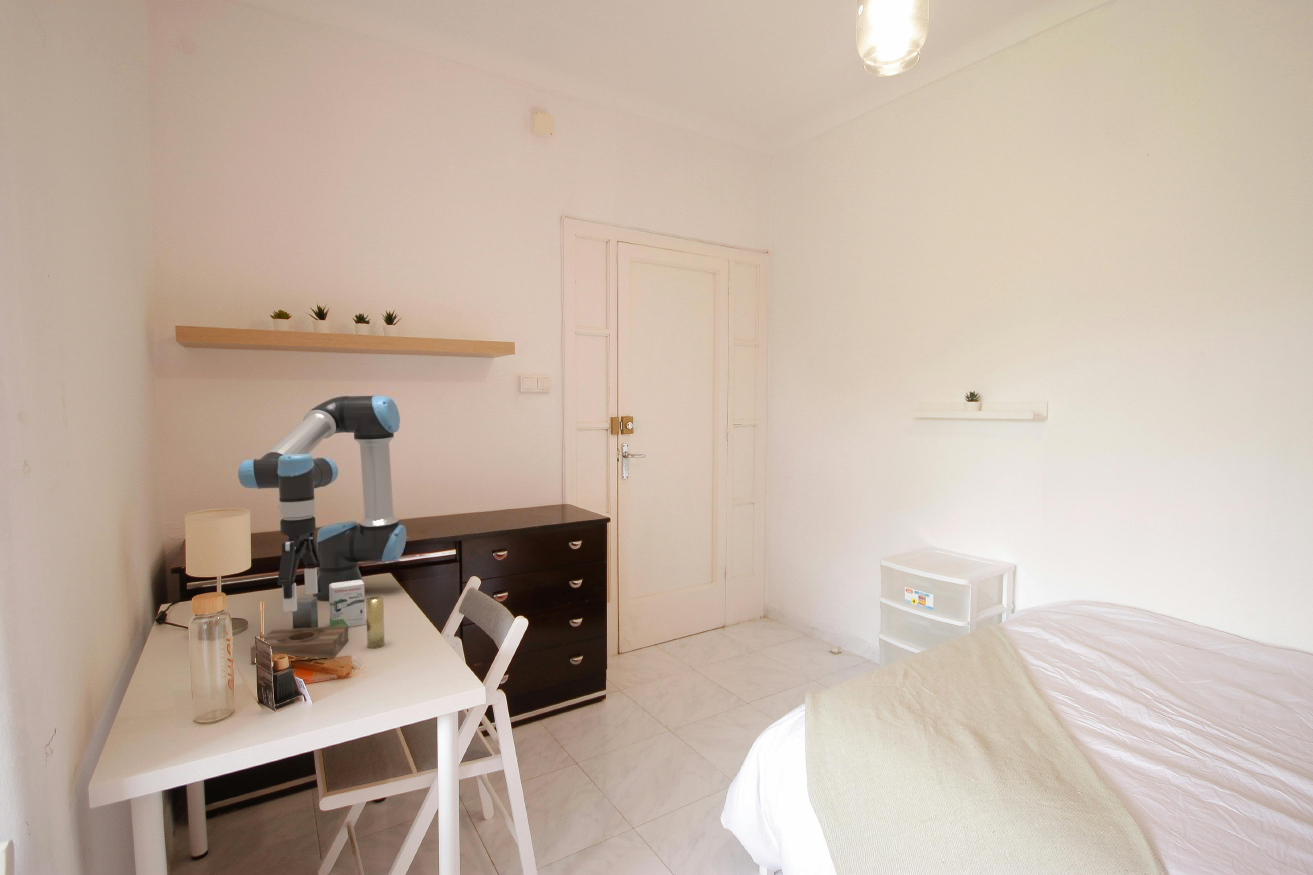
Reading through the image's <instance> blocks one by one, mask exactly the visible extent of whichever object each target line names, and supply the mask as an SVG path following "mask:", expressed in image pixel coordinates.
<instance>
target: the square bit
mask: <svg viewBox="0 0 1313 875" xmlns="http://www.w3.org/2000/svg"><path fill="white" fill-rule="evenodd" d="M291 613H292V629H299V628H314V627H319V619H318V618H319V617H318V615H319V614H318V600H317V597H313V596H311V597H310V596H309V597H308V596H307V597H298V598H297V610H296V611H291Z"/></svg>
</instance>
